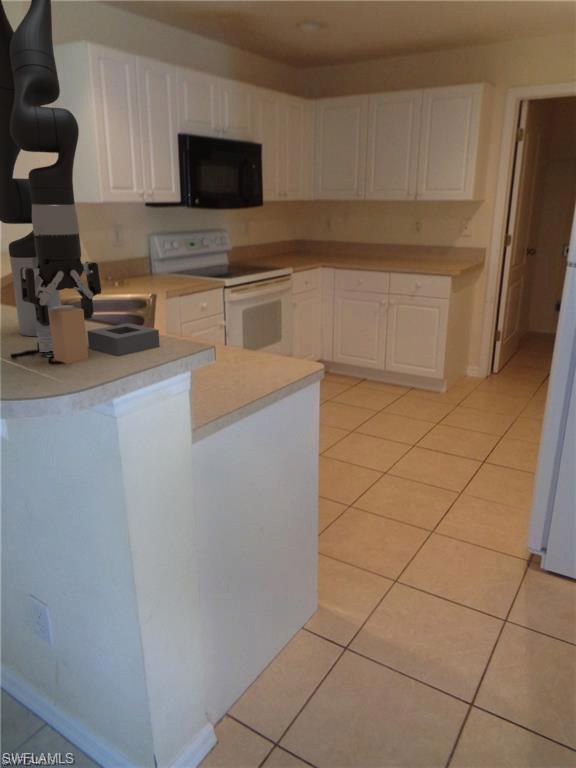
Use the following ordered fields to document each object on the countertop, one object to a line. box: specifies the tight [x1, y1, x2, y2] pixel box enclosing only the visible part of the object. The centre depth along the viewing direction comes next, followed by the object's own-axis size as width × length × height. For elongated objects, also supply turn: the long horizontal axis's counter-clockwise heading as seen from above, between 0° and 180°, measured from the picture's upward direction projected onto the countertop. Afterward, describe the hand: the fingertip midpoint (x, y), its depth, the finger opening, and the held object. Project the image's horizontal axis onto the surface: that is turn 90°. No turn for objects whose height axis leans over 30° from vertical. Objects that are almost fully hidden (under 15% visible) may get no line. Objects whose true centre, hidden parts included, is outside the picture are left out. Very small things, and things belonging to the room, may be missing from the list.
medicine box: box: [34, 304, 77, 353], centre depth 113 cm, size 8×4×9 cm, turn 170°
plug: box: [48, 306, 89, 365], centre depth 105 cm, size 4×4×10 cm
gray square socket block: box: [86, 322, 160, 357], centre depth 115 cm, size 10×10×4 cm
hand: (66, 321), depth 105 cm, fingers open, 8 cm apart
